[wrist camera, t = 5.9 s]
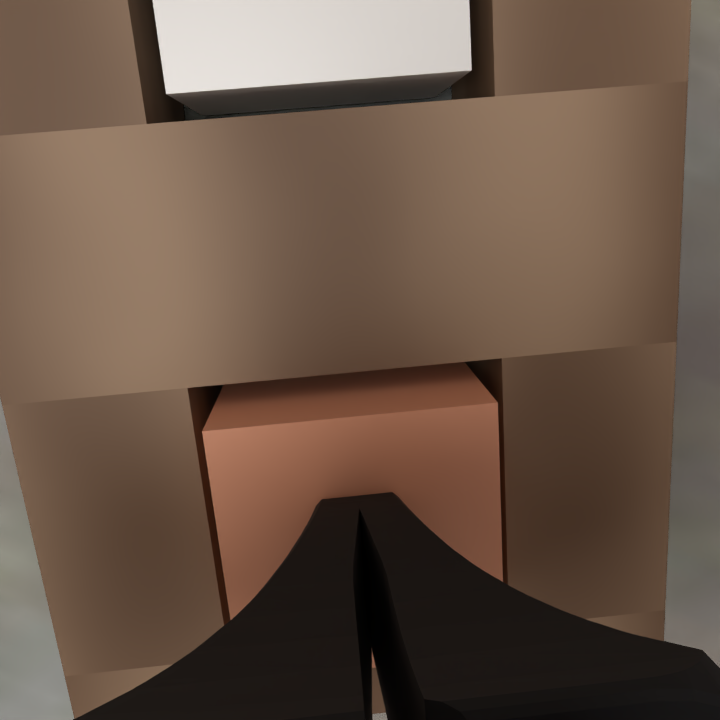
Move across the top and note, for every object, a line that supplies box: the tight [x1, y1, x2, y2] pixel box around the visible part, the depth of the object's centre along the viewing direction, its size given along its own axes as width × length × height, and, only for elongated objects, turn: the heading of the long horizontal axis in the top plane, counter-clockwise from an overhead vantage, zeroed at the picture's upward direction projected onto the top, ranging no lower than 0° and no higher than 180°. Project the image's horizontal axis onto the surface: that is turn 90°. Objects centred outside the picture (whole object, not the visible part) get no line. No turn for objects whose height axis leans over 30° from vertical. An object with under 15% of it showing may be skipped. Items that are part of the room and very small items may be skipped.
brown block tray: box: [0, 0, 691, 719], centre depth 13 cm, size 12×19×4 cm, turn 5°
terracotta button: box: [202, 362, 503, 668], centre depth 13 cm, size 5×5×4 cm
